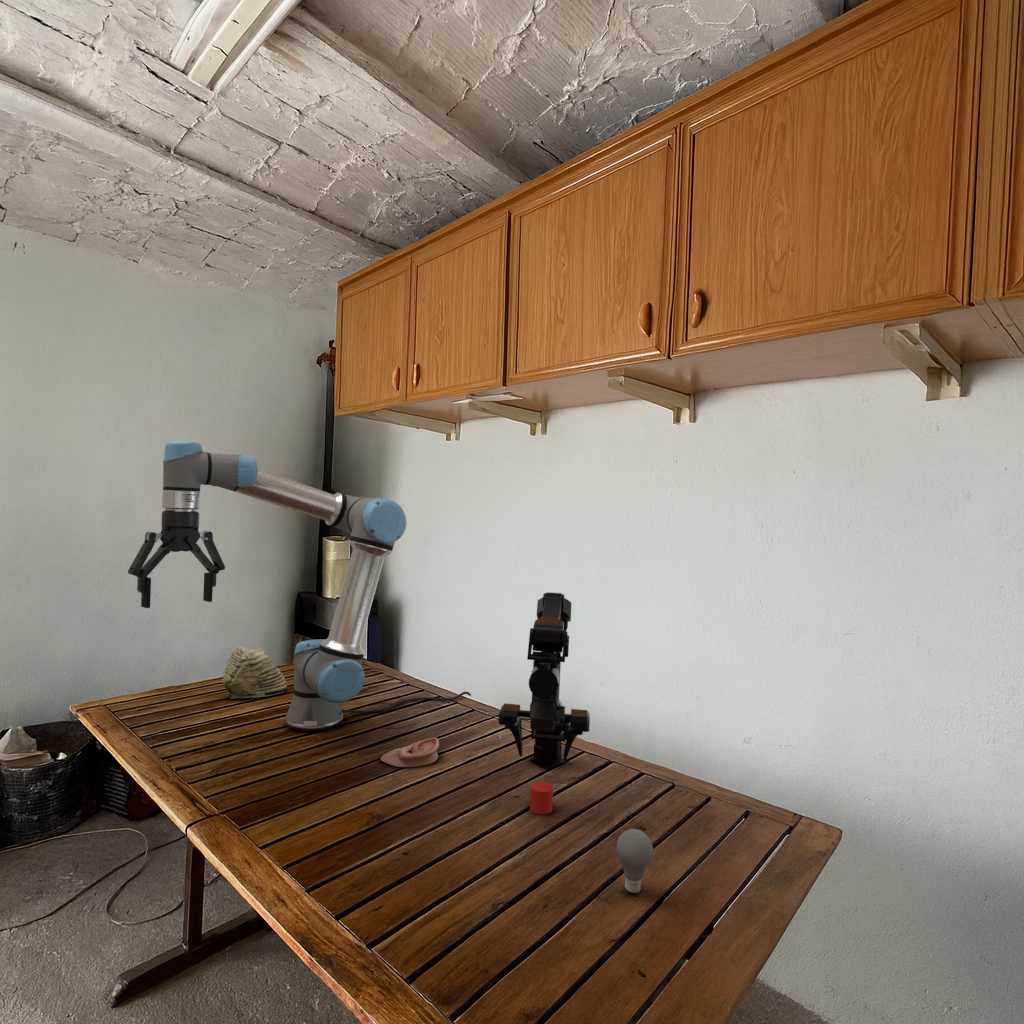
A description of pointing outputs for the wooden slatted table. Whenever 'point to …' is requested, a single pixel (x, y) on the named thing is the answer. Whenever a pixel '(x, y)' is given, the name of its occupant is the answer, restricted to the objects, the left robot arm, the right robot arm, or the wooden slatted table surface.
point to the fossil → (252, 674)
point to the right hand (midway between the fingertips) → (542, 757)
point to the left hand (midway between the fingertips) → (177, 604)
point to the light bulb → (634, 857)
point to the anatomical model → (413, 754)
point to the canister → (541, 798)
